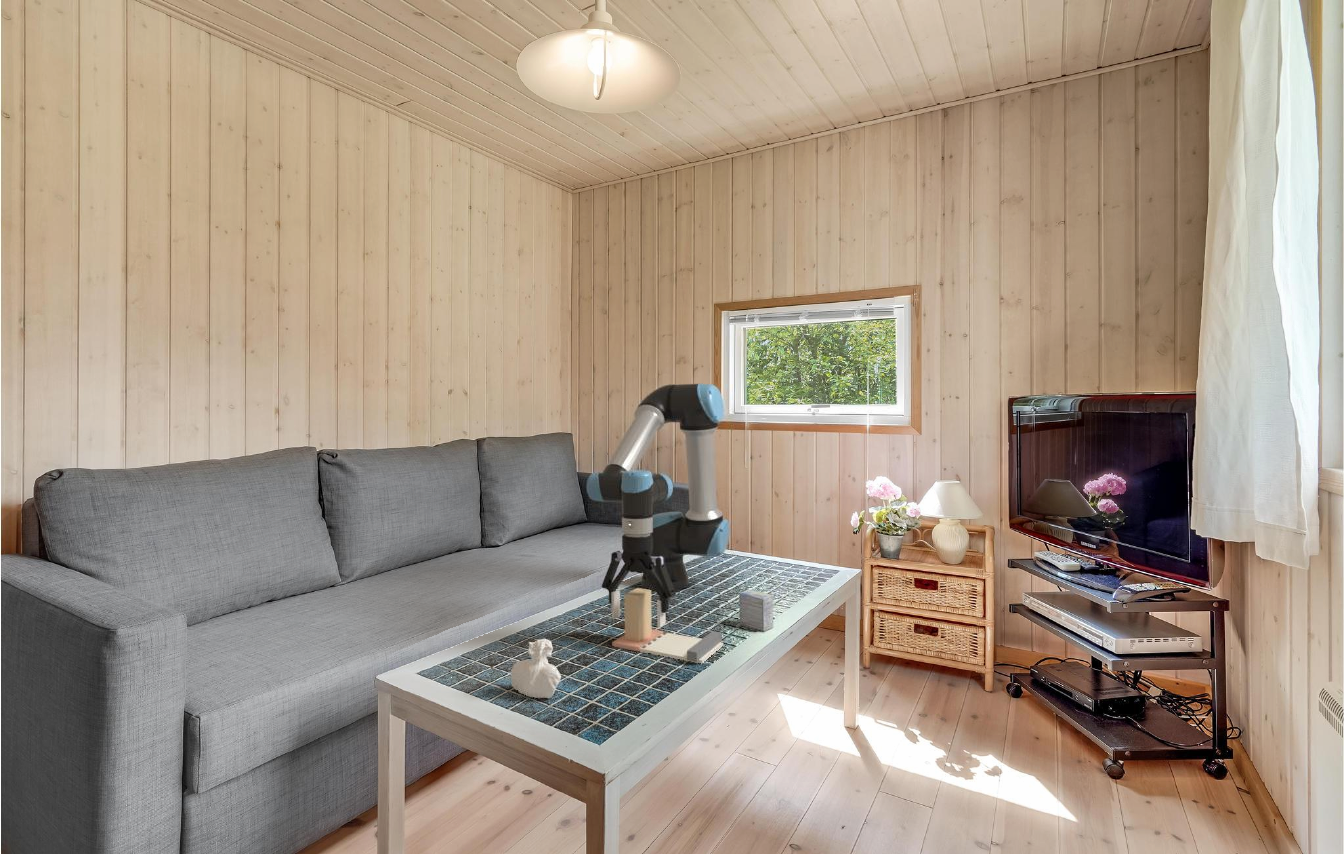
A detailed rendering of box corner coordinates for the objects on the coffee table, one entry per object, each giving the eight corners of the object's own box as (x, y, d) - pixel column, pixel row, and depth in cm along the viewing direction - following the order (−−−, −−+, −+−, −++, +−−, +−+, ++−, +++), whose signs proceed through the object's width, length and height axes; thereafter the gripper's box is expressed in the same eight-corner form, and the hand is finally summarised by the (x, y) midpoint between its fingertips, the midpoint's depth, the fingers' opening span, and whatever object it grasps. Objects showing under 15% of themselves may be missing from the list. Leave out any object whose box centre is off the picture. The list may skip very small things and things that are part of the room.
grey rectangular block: (773, 627, 166) (773, 594, 166) (763, 632, 163) (763, 598, 163) (749, 621, 172) (748, 589, 172) (738, 625, 169) (738, 592, 168)
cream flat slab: (637, 653, 149) (637, 641, 149) (666, 634, 162) (666, 623, 162) (700, 666, 142) (699, 653, 142) (724, 645, 154) (724, 633, 154)
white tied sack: (562, 708, 127) (582, 652, 133) (542, 697, 122) (564, 639, 128) (515, 695, 133) (536, 642, 139) (494, 685, 128) (517, 629, 133)
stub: (612, 646, 154) (611, 596, 153) (638, 630, 164) (637, 584, 164) (638, 651, 150) (638, 600, 150) (663, 635, 161) (662, 587, 161)
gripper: (587, 532, 159) (588, 618, 160) (674, 541, 148) (675, 633, 148) (604, 527, 166) (605, 609, 166) (689, 535, 154) (689, 624, 155)
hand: (638, 621), depth 157 cm, fingers open, 12 cm apart
